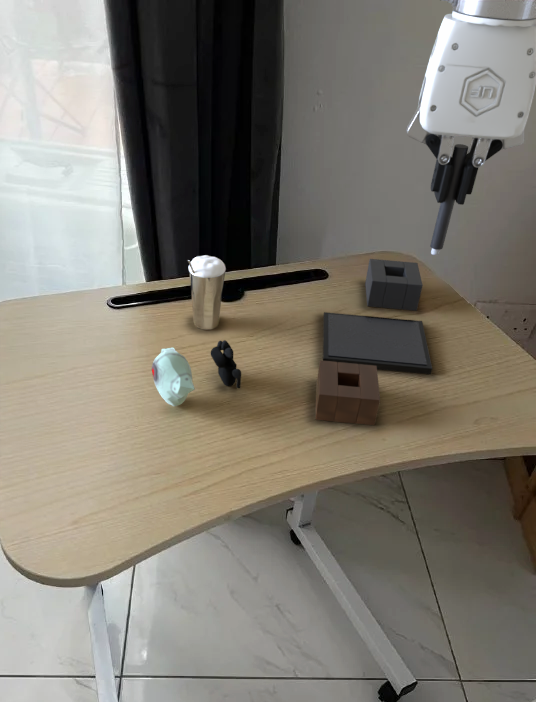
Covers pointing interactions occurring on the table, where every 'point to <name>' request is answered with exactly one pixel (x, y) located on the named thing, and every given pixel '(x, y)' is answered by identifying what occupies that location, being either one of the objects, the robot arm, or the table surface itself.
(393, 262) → the dock
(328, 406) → the pen stand
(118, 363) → the table surface
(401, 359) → the tablet
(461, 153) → the stylus
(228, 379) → the wireless earbuds
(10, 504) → the table surface
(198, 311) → the milkshake
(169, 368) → the robot head
